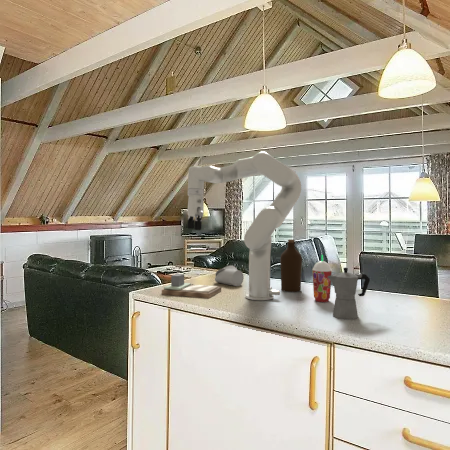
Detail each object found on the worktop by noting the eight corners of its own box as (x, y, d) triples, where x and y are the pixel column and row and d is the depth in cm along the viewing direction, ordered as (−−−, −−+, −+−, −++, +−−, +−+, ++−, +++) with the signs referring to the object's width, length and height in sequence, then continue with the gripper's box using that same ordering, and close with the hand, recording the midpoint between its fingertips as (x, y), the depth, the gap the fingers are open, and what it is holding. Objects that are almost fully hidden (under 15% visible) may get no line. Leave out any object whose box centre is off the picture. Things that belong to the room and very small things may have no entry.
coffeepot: (330, 319, 133) (331, 269, 132) (323, 312, 142) (324, 265, 142) (374, 319, 133) (374, 269, 132) (364, 312, 142) (365, 265, 142)
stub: (191, 284, 185) (191, 273, 185) (179, 290, 173) (179, 277, 173) (175, 283, 188) (175, 272, 188) (163, 288, 176) (163, 276, 176)
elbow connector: (204, 280, 206) (229, 285, 191) (207, 261, 207) (232, 264, 192) (227, 283, 217) (252, 288, 202) (230, 265, 218) (255, 269, 204)
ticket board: (221, 291, 182) (221, 285, 182) (209, 298, 167) (209, 291, 167) (176, 287, 190) (176, 282, 190) (161, 294, 175) (161, 288, 174)
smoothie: (331, 299, 165) (332, 254, 164) (331, 303, 157) (332, 256, 156) (312, 298, 167) (312, 253, 167) (311, 302, 159) (311, 255, 158)
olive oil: (286, 293, 178) (286, 240, 177) (276, 288, 188) (276, 239, 187) (305, 291, 181) (306, 240, 180) (295, 287, 191) (295, 238, 190)
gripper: (210, 193, 170) (208, 230, 171) (196, 193, 186) (195, 227, 186) (194, 192, 167) (192, 230, 168) (182, 192, 183) (180, 227, 183)
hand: (194, 229), depth 177 cm, fingers open, 9 cm apart
